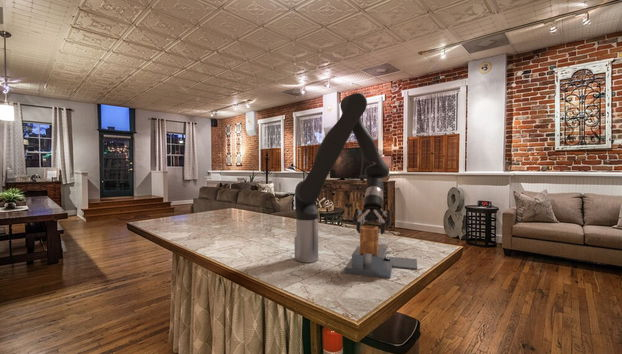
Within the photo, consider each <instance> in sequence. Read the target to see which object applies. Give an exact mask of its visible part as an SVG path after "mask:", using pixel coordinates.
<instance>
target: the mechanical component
mask: <svg viewBox="0 0 622 354" xmlns="http://www.w3.org/2000/svg"><path fill="white" fill-rule="evenodd" d="M389 246H390V243H389V242H388V241H386V240H379V248H384V249H386V255H387V254H391V253H392V248H391V247H389Z"/></svg>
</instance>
